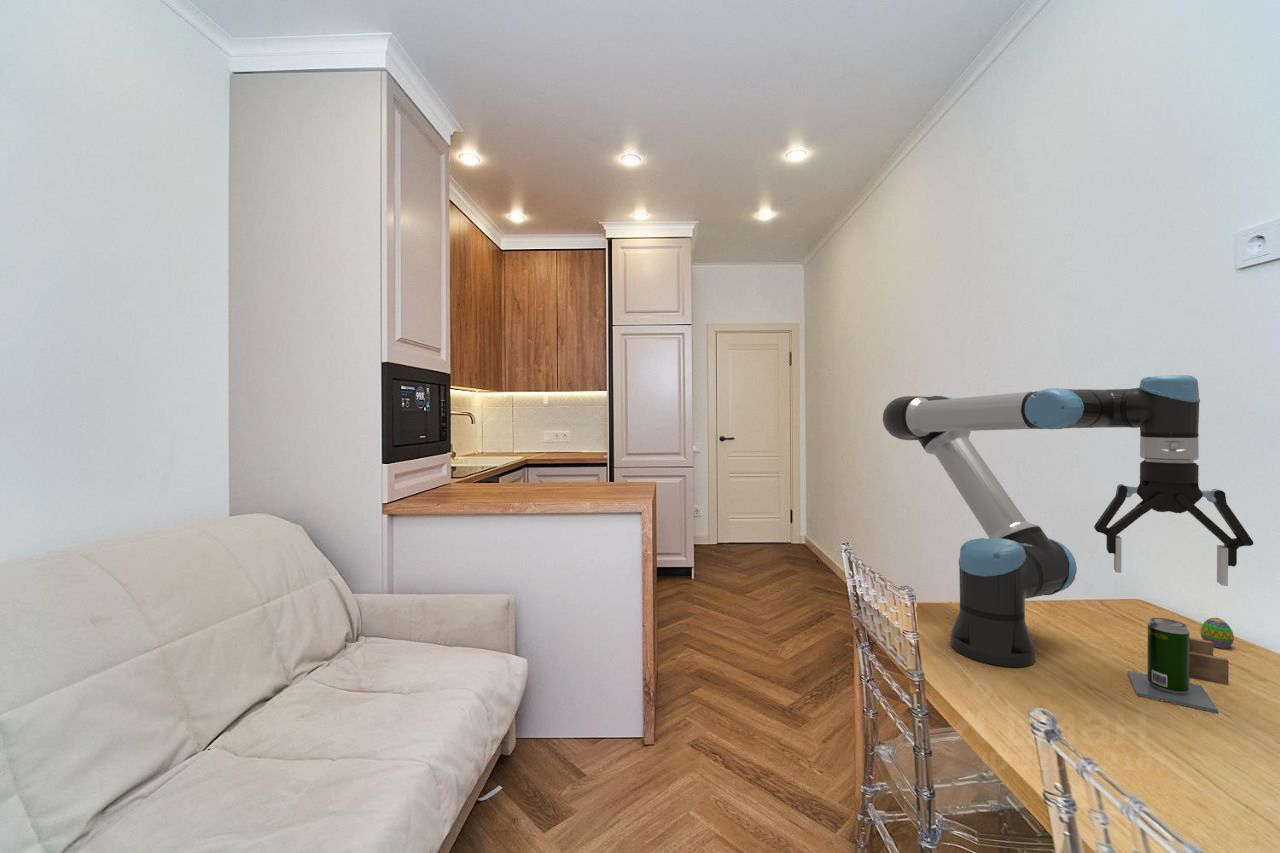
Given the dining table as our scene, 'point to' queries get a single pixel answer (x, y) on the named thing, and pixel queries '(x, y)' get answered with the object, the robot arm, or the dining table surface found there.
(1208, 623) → the egg
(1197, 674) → the rack
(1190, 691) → the coaster
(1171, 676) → the beer can
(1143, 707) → the dining table surface
